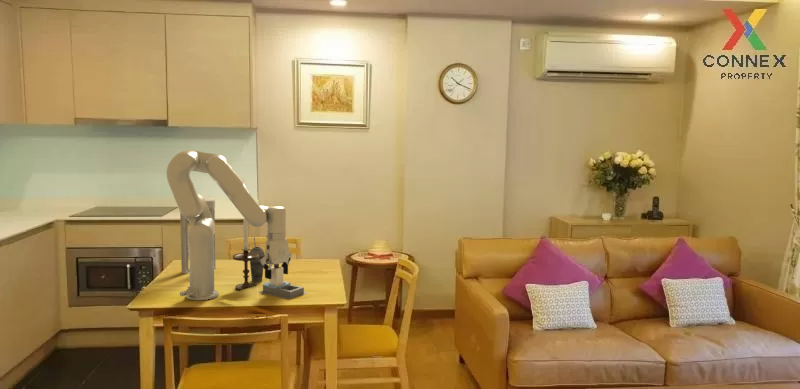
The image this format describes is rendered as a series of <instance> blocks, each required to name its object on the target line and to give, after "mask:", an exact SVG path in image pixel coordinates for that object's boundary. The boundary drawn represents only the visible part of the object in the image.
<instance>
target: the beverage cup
mask: <svg viewBox="0 0 800 389" xmlns="http://www.w3.org/2000/svg"><path fill="white" fill-rule="evenodd" d="M253 242H254V243H253V244H254V247H253V248H250V249H251V250H249V251H248V253H256V254H259V258H258V259H255V260H250V261H249V265H250V276H251V282H252V283H259V282H262V281H263V275H264V268H263V267H262V264H261V262H260V260H261V259H262V258H263V257H264V256H265V250H264V249H263V248H262V247H260V246H257V245H256V237H255V236H254V237H253Z"/></svg>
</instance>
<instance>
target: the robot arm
mask: <svg viewBox="0 0 800 389" xmlns="http://www.w3.org/2000/svg"><path fill="white" fill-rule="evenodd" d="M191 172H197V173H198V172H199V173H202V174H203V173H205V174H208V175H209V176H210V177H211V179H212V181H214V182H215V183H216V184H217V186H218V187H219V188H220V189H221V190H222V192H224V194H225V195H226V197H227V198H228V199H229V201H230V202H231V204H233V205H234V207H235V208H236V209H237V212H239V214H240V215H241V216H242V217H243V219H244V218H245V219H246V220H247V221H248V225H249V224H250V225H251V226H253V227H255V228H258V227H262V226H264V225H265V223H266V224H267V225H266V226H267V227H266V228H267V229H266V230H267V232H266V236H265V237H266V239H267V240H266V242H265V249H264V253H265V256H264V257H263V258H262V259H261V260H260V262H261V264H262V267H263V270H264V278H265V279H266V280H267V279H268V280H270V279H271V269H270V268H271V267H273V266H274V265H276V264H279V265H280V264H281V267H283V275H288V274H289V265H290V261H291V260H292V259H291V258H292V256H293V253H292V252H291V251H290V249H289V248H290V247H289V241H288V238H287V236H286V235H287V234H286V231H287V230H286V229H287V226H286V225H287V224H286V223H287V222H286V218H287V217H286V214H287V213H286V208H285V207H284V206H281V205H276V206H274V205H273V206H265V205H259V204H258V202H256V200H255V199H254V198H253V196H252V195H251V193H250V192H249V189H248V188H247V185H246V184H245V182H244V181H243V180H242V179H241V177H240V176H239V175H238V173H236V172H235V170H234V169H233V168H232V166H231V165H230V164H229V161H228V159H227V158H226V157H225V156H223V155H222V154H219V153H218V154H216V153H209V152H204V151H197V150H192V149H187V150H183V151H182V150H181V151H179V152H177V153H176V154H175V155H174V156H173V157H172V158H171V160H170V161H169V163H168V164H167V167H166V179H167V183H168V185H169V188H170V191H171V193H172V195H173V198H174V201H175V204H176V205H177V209H178V211H179V213H181V214H182V216H184V217H185V218H187V222H188V223H189V228H188V246H189V249H188V252H189V255H188V265H189V286H187V289H186V290H183V291H179V296H180V297H184V296H185V298H186V299H187V298H188V300H190V301H208V299H209V300H213V299H216V298H217V297H219V291H218V290H215V287H216V286H215V270H214V245H213V235H214V233H215V234H216V222H215V223H214V220H213V218H212V215H211V213H210V211H209V208H208V206H207V203H206V201H205V200H204V198H203V197H204V196H202V195H200V194H199V193H197V191H196V189H195V185H194V183H193V181H192V180H191V176H190V173H191Z"/></svg>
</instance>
